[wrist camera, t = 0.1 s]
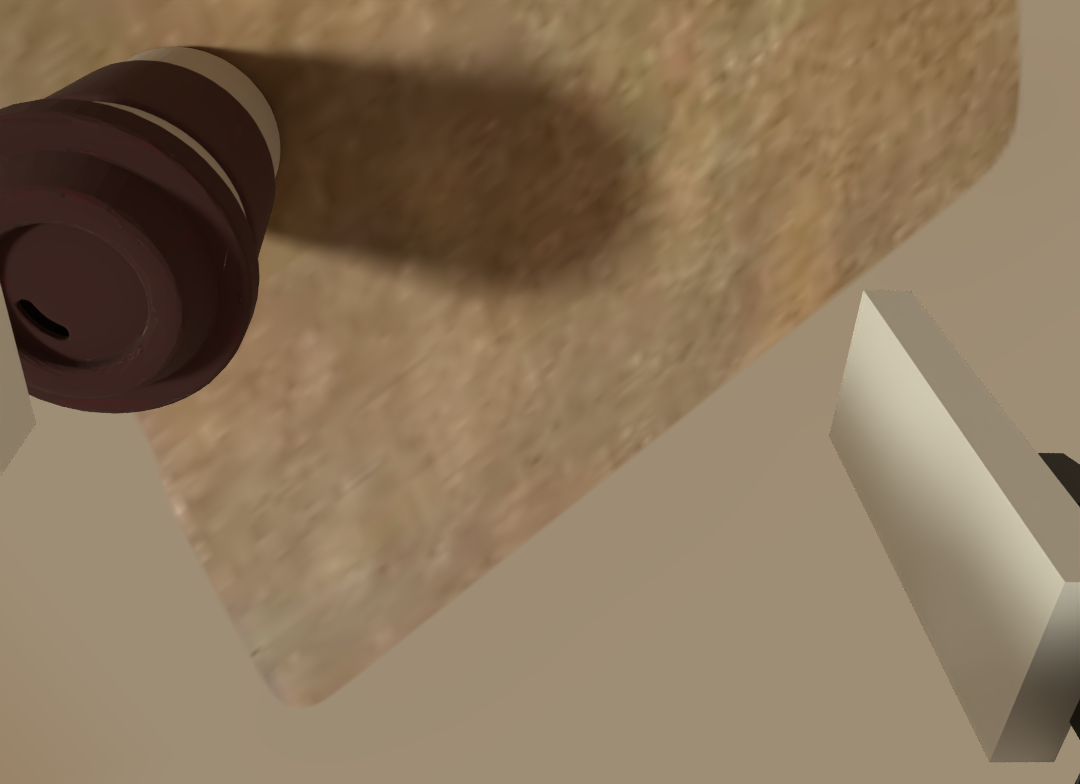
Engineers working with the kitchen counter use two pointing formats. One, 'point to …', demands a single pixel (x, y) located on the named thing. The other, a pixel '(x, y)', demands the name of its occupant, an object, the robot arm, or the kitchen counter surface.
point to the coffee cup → (135, 228)
